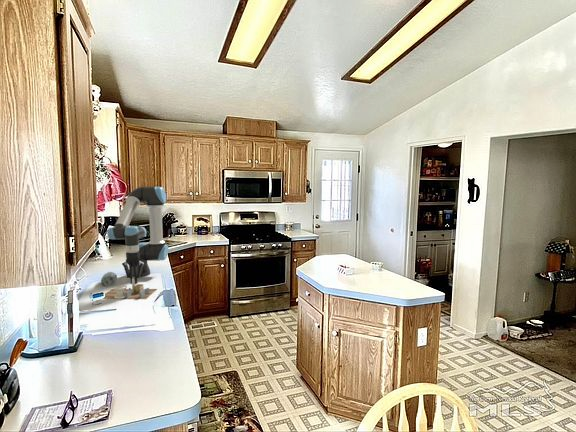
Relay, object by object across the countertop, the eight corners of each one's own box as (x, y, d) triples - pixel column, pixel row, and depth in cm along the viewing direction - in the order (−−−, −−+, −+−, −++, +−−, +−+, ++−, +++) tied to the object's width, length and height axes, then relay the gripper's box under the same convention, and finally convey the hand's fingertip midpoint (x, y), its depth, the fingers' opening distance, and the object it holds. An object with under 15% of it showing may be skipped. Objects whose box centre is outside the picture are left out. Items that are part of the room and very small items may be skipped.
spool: (115, 282, 228) (108, 269, 229) (102, 290, 227) (94, 276, 227) (122, 281, 242) (116, 268, 242) (109, 288, 240) (102, 275, 241)
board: (112, 290, 223) (112, 288, 223) (157, 290, 223) (157, 288, 223) (96, 300, 205) (96, 298, 205) (146, 300, 205) (146, 299, 205)
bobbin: (117, 294, 212) (117, 285, 211) (129, 294, 212) (128, 285, 211) (112, 299, 205) (111, 289, 204) (123, 299, 205) (123, 289, 204)
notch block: (129, 293, 214) (129, 287, 214) (149, 293, 214) (149, 287, 214) (123, 298, 206) (122, 292, 206) (143, 298, 206) (143, 292, 206)
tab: (137, 290, 220) (137, 284, 219) (143, 290, 220) (143, 284, 219) (133, 293, 215) (133, 286, 214) (140, 293, 215) (139, 286, 214)
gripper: (119, 252, 211) (121, 290, 214) (140, 253, 211) (142, 290, 214) (125, 250, 218) (126, 286, 221) (145, 250, 218) (147, 286, 221)
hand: (134, 288), depth 217 cm, fingers closed
